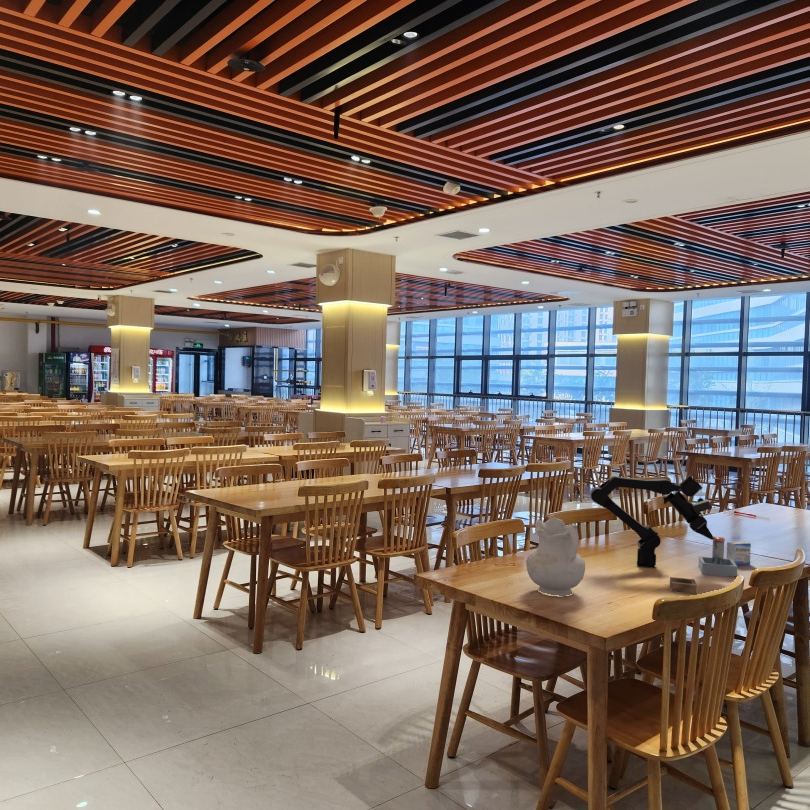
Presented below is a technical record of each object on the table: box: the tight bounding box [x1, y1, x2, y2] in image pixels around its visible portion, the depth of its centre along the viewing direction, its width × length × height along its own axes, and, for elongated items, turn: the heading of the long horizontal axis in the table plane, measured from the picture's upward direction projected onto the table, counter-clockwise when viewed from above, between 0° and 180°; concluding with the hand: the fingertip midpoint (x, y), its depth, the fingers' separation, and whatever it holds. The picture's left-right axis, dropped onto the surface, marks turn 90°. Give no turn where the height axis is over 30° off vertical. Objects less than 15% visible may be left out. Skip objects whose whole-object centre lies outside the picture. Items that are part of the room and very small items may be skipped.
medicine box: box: [726, 541, 752, 566], centre depth 282 cm, size 8×4×9 cm, turn 105°
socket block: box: [669, 576, 698, 595], centre depth 242 cm, size 8×8×3 cm
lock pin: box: [711, 536, 726, 565], centre depth 268 cm, size 4×4×12 cm
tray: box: [697, 555, 738, 578], centre depth 268 cm, size 12×12×4 cm
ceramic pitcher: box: [525, 516, 586, 596], centre depth 234 cm, size 22×20×25 cm
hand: (711, 536), depth 268 cm, fingers open, 9 cm apart
